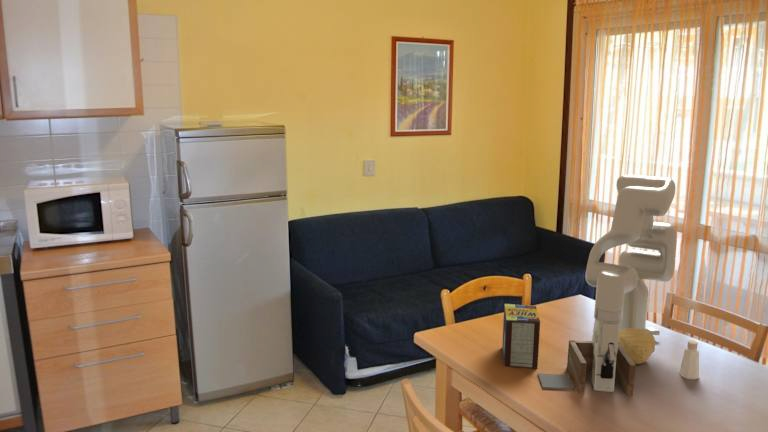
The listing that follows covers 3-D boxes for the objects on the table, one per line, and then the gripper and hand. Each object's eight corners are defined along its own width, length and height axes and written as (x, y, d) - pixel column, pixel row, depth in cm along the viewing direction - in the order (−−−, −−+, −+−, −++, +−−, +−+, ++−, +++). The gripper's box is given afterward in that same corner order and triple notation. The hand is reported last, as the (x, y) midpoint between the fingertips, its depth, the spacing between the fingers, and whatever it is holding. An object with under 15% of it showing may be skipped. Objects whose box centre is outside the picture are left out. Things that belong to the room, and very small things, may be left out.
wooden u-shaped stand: (616, 369, 191) (618, 342, 190) (632, 394, 175) (635, 365, 173) (567, 367, 193) (569, 340, 191) (578, 392, 176) (581, 362, 175)
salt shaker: (687, 380, 185) (691, 345, 182) (675, 372, 190) (678, 338, 188) (703, 379, 186) (707, 344, 184) (690, 371, 191) (694, 337, 189)
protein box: (533, 349, 206) (536, 305, 203) (537, 369, 191) (540, 321, 188) (501, 347, 208) (503, 303, 205) (503, 366, 193) (505, 319, 190)
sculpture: (624, 369, 192) (627, 336, 190) (605, 353, 204) (608, 322, 202) (658, 367, 194) (662, 334, 192) (637, 351, 205) (640, 320, 203)
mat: (568, 376, 186) (568, 374, 186) (574, 390, 177) (574, 388, 177) (537, 375, 187) (537, 373, 187) (542, 388, 178) (542, 387, 178)
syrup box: (614, 392, 176) (618, 345, 174) (592, 390, 178) (596, 343, 175) (611, 383, 182) (615, 337, 179) (590, 381, 183) (594, 335, 180)
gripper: (587, 303, 184) (583, 359, 188) (602, 324, 167) (597, 386, 171) (613, 304, 184) (608, 361, 187) (631, 325, 167) (625, 387, 170)
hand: (603, 372), depth 179 cm, fingers closed on syrup box, 6 cm apart
